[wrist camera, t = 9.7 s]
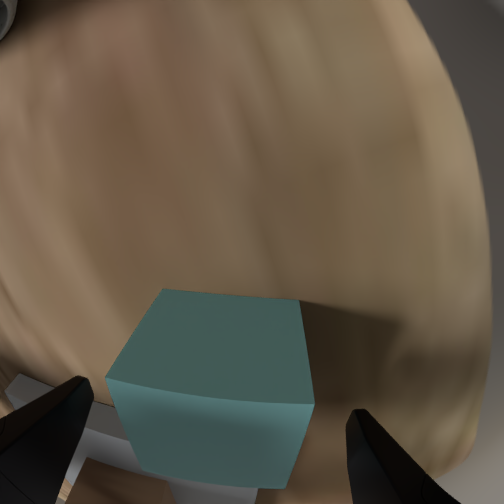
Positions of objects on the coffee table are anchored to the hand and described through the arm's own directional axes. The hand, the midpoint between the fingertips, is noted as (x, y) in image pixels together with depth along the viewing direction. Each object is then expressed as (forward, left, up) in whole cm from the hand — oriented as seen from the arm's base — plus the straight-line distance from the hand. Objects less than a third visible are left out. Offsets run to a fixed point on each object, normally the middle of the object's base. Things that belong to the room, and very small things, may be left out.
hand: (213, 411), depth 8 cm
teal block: (0, 0, -3) cm, 3 cm away
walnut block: (-6, -12, -1) cm, 14 cm away
